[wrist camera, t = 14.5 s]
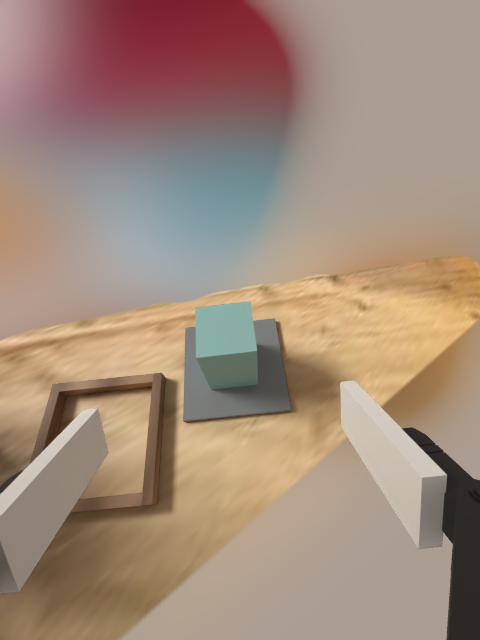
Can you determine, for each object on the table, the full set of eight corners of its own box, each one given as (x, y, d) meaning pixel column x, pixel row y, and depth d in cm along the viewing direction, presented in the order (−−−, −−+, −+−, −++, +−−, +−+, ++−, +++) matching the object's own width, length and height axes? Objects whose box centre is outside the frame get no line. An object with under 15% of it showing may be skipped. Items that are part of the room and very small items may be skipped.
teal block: (211, 389, 32) (195, 358, 25) (209, 347, 35) (195, 307, 28) (258, 384, 32) (257, 350, 25) (252, 342, 35) (250, 301, 28)
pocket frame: (26, 516, 27) (14, 518, 26) (61, 388, 34) (52, 384, 33) (157, 503, 27) (152, 504, 26) (165, 377, 34) (161, 372, 33)
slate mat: (184, 421, 31) (183, 420, 31) (186, 330, 38) (185, 327, 37) (290, 411, 31) (291, 409, 31) (274, 320, 37) (274, 318, 37)
